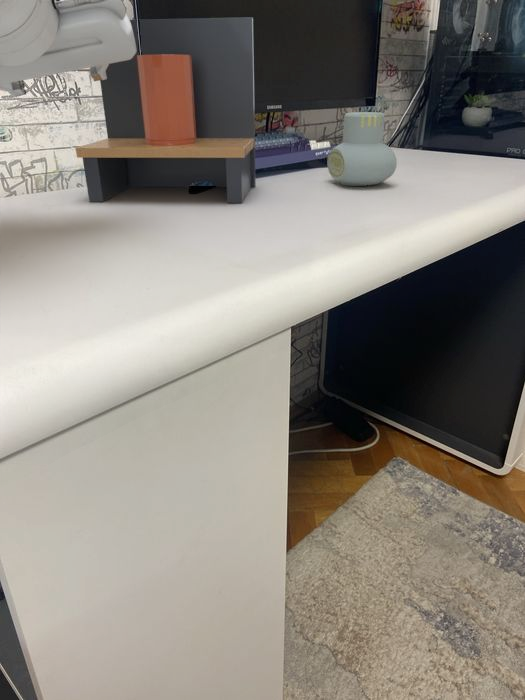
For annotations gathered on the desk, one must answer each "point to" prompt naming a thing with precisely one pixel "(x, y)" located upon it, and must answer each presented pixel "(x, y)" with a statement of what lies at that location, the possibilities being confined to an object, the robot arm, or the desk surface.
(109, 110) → the shelf rack
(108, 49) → the robot arm
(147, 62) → the cup
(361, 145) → the air freshener
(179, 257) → the desk surface
